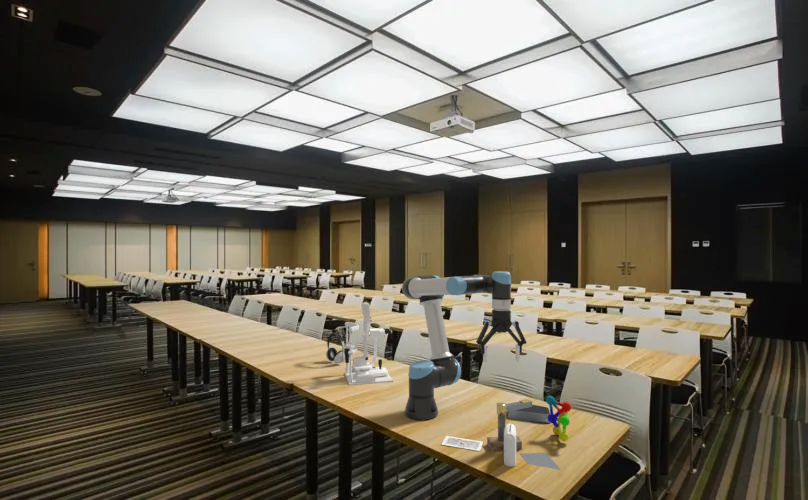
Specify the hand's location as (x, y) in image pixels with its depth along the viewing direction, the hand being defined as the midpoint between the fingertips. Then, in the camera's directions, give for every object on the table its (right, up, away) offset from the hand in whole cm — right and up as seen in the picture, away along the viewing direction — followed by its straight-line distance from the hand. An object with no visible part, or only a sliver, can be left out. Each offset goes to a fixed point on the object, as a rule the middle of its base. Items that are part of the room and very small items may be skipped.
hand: (501, 361), depth 167 cm
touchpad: (-17, -31, -8) cm, 36 cm away
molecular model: (+23, -31, -2) cm, 39 cm away
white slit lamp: (-61, -31, +79) cm, 104 cm away
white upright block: (-1, -31, -20) cm, 36 cm away
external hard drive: (+18, -31, +20) cm, 41 cm away
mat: (+9, -30, -22) cm, 39 cm away
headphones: (-86, -31, +112) cm, 145 cm away
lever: (+3, -17, -8) cm, 19 cm away
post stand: (-1, -30, -10) cm, 32 cm away
